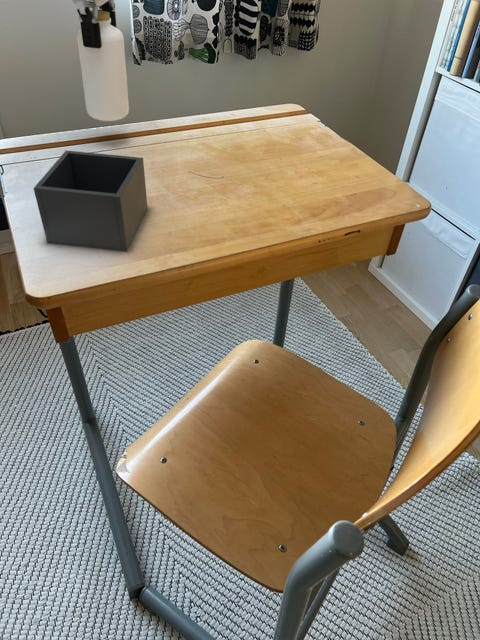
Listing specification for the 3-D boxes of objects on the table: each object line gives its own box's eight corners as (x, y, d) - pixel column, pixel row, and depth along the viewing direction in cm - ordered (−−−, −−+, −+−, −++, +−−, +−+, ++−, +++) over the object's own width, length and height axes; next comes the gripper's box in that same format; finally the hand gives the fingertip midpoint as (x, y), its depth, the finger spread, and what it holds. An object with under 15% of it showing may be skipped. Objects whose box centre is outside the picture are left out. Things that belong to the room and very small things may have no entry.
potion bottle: (133, 109, 106) (125, 9, 94) (125, 124, 100) (116, 20, 88) (92, 105, 106) (80, 6, 94) (82, 121, 100) (67, 16, 88)
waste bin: (47, 245, 79) (33, 188, 73) (76, 204, 88) (65, 150, 82) (127, 254, 78) (120, 196, 72) (148, 211, 88) (143, 157, 81)
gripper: (84, -85, 89) (96, 27, 101) (43, -76, 76) (63, 51, 88) (126, -81, 89) (133, 31, 100) (93, -72, 76) (106, 56, 87)
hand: (100, 40), depth 94 cm, fingers closed on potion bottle, 8 cm apart
